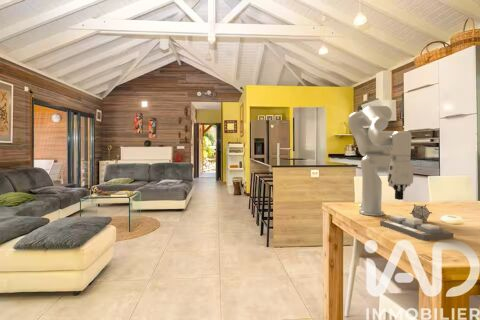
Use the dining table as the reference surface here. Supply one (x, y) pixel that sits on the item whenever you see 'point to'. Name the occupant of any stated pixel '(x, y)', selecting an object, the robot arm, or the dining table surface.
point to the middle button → (414, 221)
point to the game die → (420, 212)
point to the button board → (416, 230)
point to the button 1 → (399, 217)
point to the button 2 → (429, 226)
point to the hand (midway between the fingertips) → (398, 199)
